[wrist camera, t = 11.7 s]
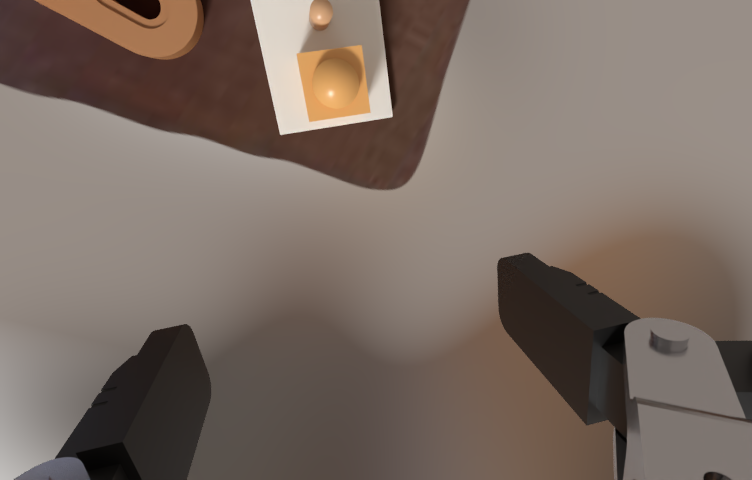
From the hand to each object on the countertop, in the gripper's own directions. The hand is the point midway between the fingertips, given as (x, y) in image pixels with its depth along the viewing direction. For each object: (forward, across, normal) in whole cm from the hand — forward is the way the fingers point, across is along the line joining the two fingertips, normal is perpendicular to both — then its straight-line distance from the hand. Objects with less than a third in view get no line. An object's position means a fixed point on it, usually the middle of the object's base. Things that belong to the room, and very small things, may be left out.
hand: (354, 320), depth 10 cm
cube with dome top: (+34, -3, -6) cm, 35 cm away
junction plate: (+36, -3, -9) cm, 37 cm away
